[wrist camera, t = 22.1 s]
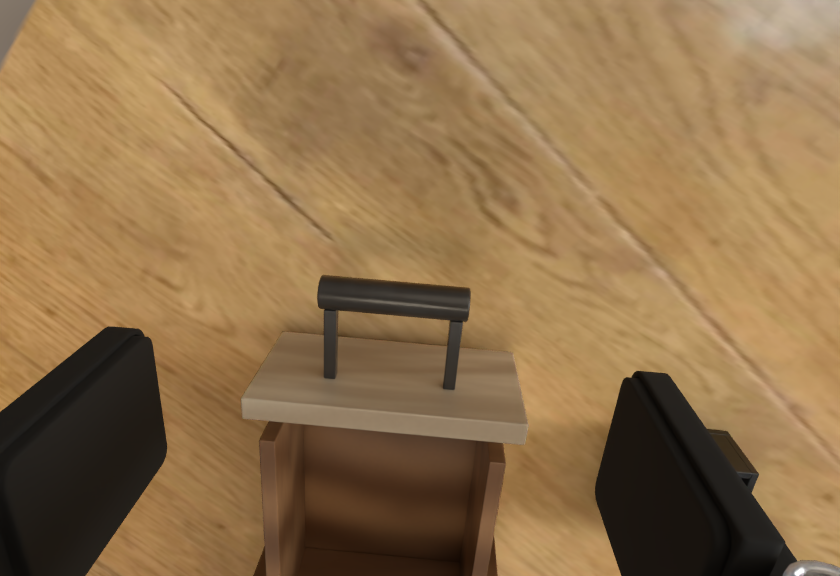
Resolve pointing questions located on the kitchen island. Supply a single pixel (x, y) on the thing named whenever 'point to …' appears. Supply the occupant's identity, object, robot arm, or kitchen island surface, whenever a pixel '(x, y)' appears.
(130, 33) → the kitchen island surface
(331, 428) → the drawer
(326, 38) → the kitchen island surface
